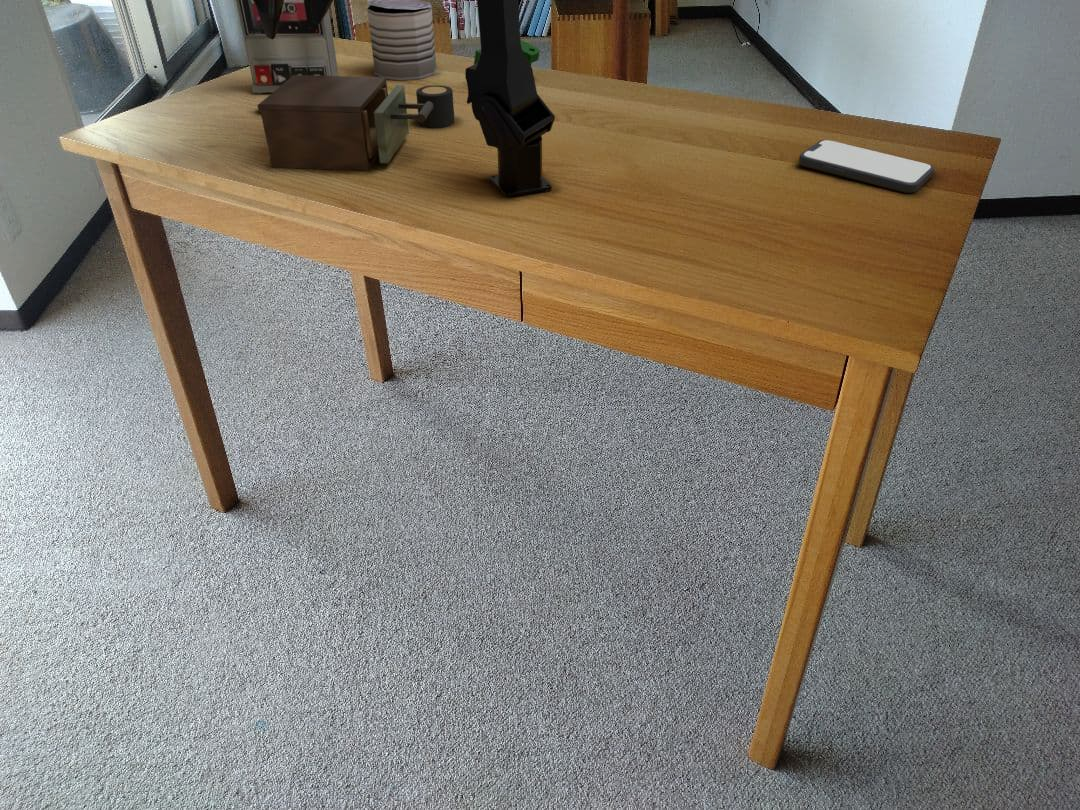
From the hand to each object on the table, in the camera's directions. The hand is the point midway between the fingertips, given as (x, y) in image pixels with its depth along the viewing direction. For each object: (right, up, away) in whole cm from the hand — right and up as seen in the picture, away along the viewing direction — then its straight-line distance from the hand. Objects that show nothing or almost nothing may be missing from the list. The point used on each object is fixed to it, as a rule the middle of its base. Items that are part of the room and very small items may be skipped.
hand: (294, 30), depth 112 cm
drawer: (+9, -14, +6) cm, 18 cm away
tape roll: (+17, -7, +17) cm, 25 cm away
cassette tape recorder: (-9, +4, +31) cm, 33 cm away
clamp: (+28, +6, +34) cm, 44 cm away
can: (+9, +10, +39) cm, 42 cm away
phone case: (+77, -19, 0) cm, 79 cm away
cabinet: (+4, -14, +7) cm, 16 cm away
